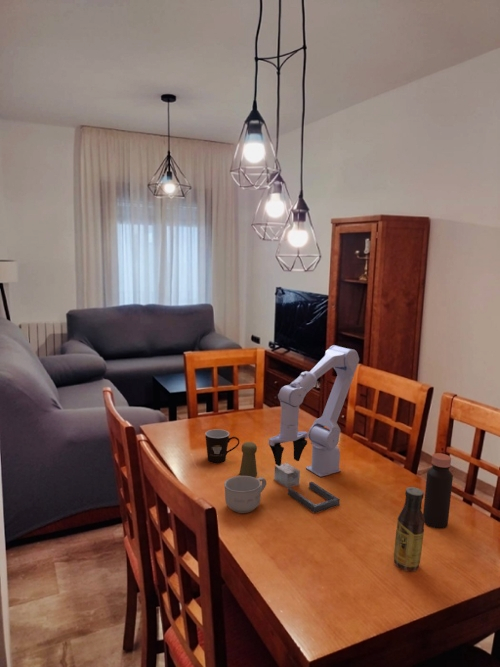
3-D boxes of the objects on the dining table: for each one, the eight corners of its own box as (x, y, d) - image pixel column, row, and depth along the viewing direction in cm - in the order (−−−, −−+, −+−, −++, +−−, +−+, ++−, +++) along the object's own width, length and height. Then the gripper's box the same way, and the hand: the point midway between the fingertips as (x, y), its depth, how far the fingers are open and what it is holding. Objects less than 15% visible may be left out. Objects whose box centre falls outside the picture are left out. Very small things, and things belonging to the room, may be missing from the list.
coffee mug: (200, 462, 174) (201, 435, 172) (211, 453, 182) (211, 427, 180) (230, 468, 170) (230, 441, 168) (239, 459, 177) (240, 433, 176)
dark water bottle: (417, 521, 139) (423, 455, 136) (431, 514, 143) (437, 449, 140) (439, 532, 134) (446, 463, 131) (452, 524, 138) (459, 458, 135)
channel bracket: (311, 487, 158) (311, 481, 157) (339, 505, 147) (339, 499, 146) (287, 494, 152) (288, 488, 152) (314, 513, 142) (315, 507, 141)
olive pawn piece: (255, 479, 162) (256, 447, 160) (237, 476, 163) (238, 445, 162) (258, 471, 168) (259, 441, 166) (241, 469, 169) (242, 439, 167)
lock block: (285, 476, 165) (286, 462, 164) (299, 485, 159) (299, 470, 158) (273, 479, 163) (274, 465, 162) (286, 488, 157) (287, 474, 156)
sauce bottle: (389, 557, 122) (395, 483, 119) (413, 557, 122) (420, 483, 119) (399, 574, 115) (406, 496, 112) (424, 574, 116) (432, 496, 113)
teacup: (233, 520, 136) (234, 494, 135) (217, 503, 146) (218, 477, 145) (276, 510, 143) (277, 484, 141) (258, 493, 152) (259, 469, 151)
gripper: (299, 415, 165) (297, 453, 167) (263, 422, 157) (262, 462, 159) (312, 422, 159) (310, 461, 161) (276, 429, 151) (274, 470, 153)
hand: (287, 462), depth 160 cm, fingers open, 7 cm apart
